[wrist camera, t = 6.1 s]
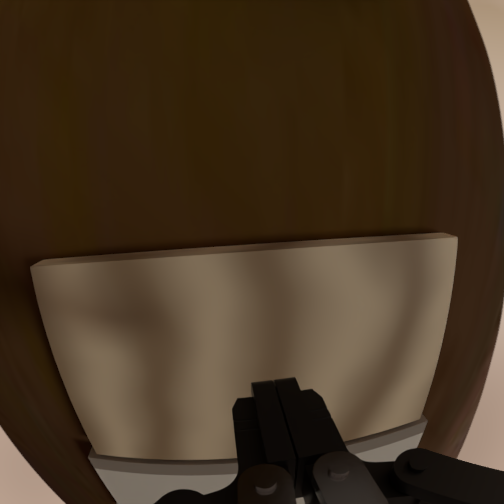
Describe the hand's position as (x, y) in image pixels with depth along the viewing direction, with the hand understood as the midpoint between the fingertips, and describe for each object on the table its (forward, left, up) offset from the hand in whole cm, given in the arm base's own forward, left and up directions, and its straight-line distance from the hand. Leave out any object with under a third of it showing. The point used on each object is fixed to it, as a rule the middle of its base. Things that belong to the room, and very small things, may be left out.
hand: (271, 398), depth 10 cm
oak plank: (0, -3, -7) cm, 8 cm away
